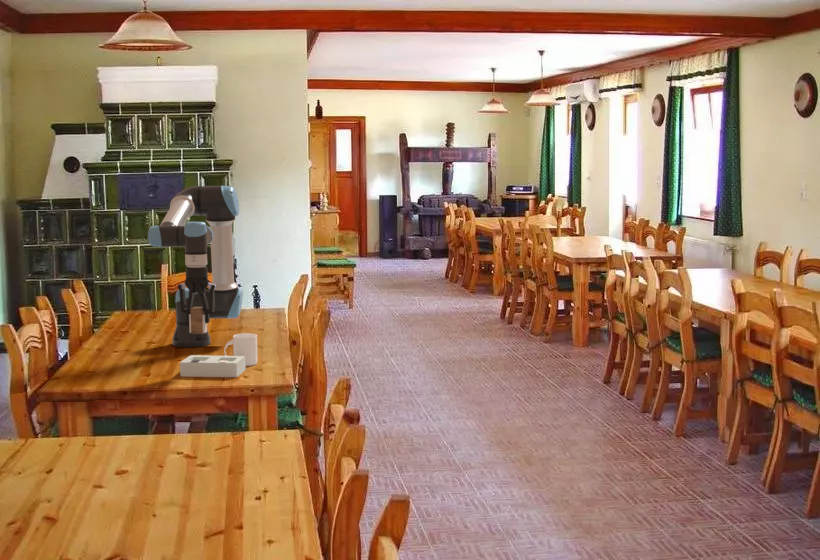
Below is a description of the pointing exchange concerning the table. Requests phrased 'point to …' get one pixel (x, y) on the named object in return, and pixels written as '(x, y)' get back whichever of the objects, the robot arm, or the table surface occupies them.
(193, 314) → the plug
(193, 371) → the socket board
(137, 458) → the table surface
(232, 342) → the mug
